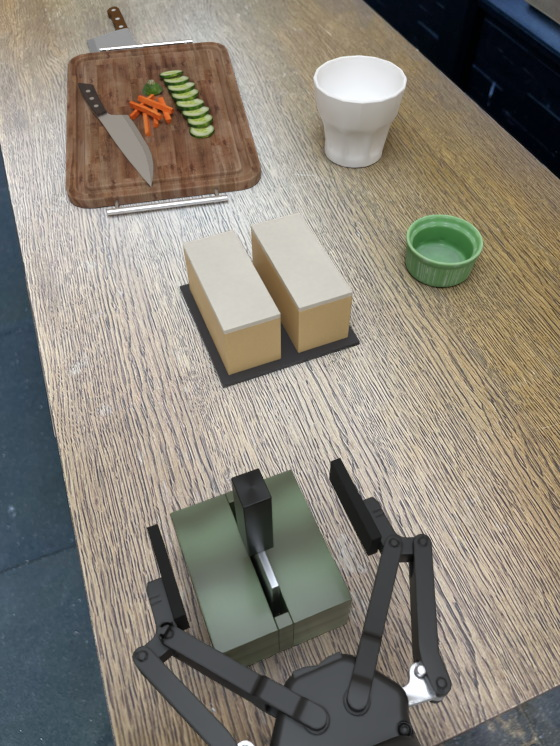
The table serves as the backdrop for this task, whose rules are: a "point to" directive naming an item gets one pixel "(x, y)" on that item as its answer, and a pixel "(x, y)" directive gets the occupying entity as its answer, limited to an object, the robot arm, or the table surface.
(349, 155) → the cup
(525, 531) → the table surface
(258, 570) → the black-handled knife
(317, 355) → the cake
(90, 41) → the kitchen cleaver
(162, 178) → the chopping board
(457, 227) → the ramekin
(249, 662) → the knife block
